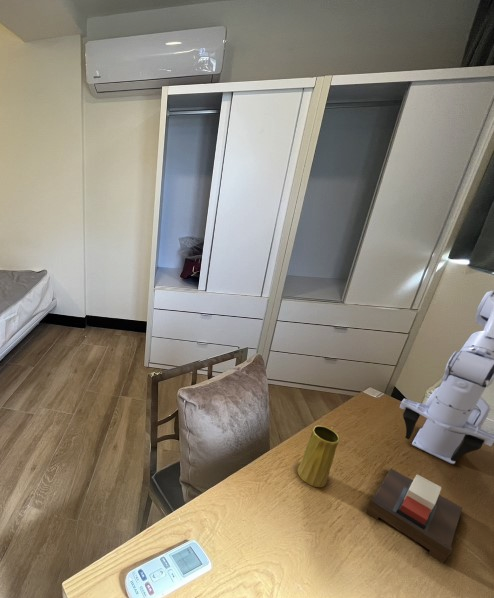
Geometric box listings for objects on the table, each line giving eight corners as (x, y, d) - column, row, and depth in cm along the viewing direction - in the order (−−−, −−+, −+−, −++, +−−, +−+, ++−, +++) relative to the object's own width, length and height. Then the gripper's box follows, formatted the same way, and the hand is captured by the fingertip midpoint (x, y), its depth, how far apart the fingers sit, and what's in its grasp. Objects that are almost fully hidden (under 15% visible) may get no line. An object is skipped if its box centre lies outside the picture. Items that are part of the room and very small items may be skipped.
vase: (299, 482, 75) (313, 440, 70) (295, 462, 81) (308, 421, 75) (329, 491, 73) (346, 447, 68) (322, 469, 78) (338, 427, 73)
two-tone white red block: (408, 486, 72) (415, 473, 70) (435, 501, 68) (443, 488, 67) (395, 512, 66) (402, 498, 65) (423, 530, 63) (432, 516, 61)
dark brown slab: (388, 473, 77) (393, 462, 75) (458, 513, 68) (466, 501, 66) (365, 512, 69) (371, 500, 67) (442, 563, 59) (451, 551, 58)
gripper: (404, 392, 71) (385, 435, 76) (504, 430, 60) (473, 478, 65) (412, 380, 75) (393, 422, 80) (507, 415, 64) (478, 461, 69)
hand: (429, 447), depth 73 cm, fingers open, 7 cm apart
